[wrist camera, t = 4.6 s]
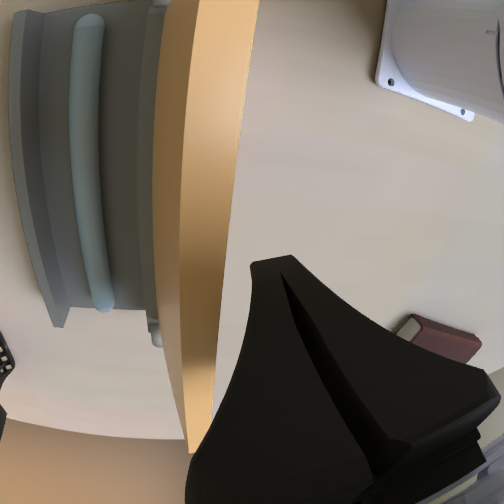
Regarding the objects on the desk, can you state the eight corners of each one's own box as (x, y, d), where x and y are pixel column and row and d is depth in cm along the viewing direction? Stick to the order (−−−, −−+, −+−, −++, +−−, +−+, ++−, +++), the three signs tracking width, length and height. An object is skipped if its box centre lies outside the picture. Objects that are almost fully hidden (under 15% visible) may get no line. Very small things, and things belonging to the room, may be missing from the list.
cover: (165, 12, 10) (188, 13, 10) (158, 323, 19) (173, 322, 20) (212, -67, 3) (268, -56, 3) (189, 453, 12) (209, 449, 13)
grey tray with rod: (186, -5, 12) (184, -24, 9) (170, 308, 23) (169, 347, 20) (40, 10, 10) (6, 2, 7) (65, 303, 21) (52, 340, 18)
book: (411, 308, 29) (426, 330, 27) (474, 332, 37) (485, 347, 34) (340, 380, 35) (349, 401, 32) (420, 384, 42) (428, 400, 40)
